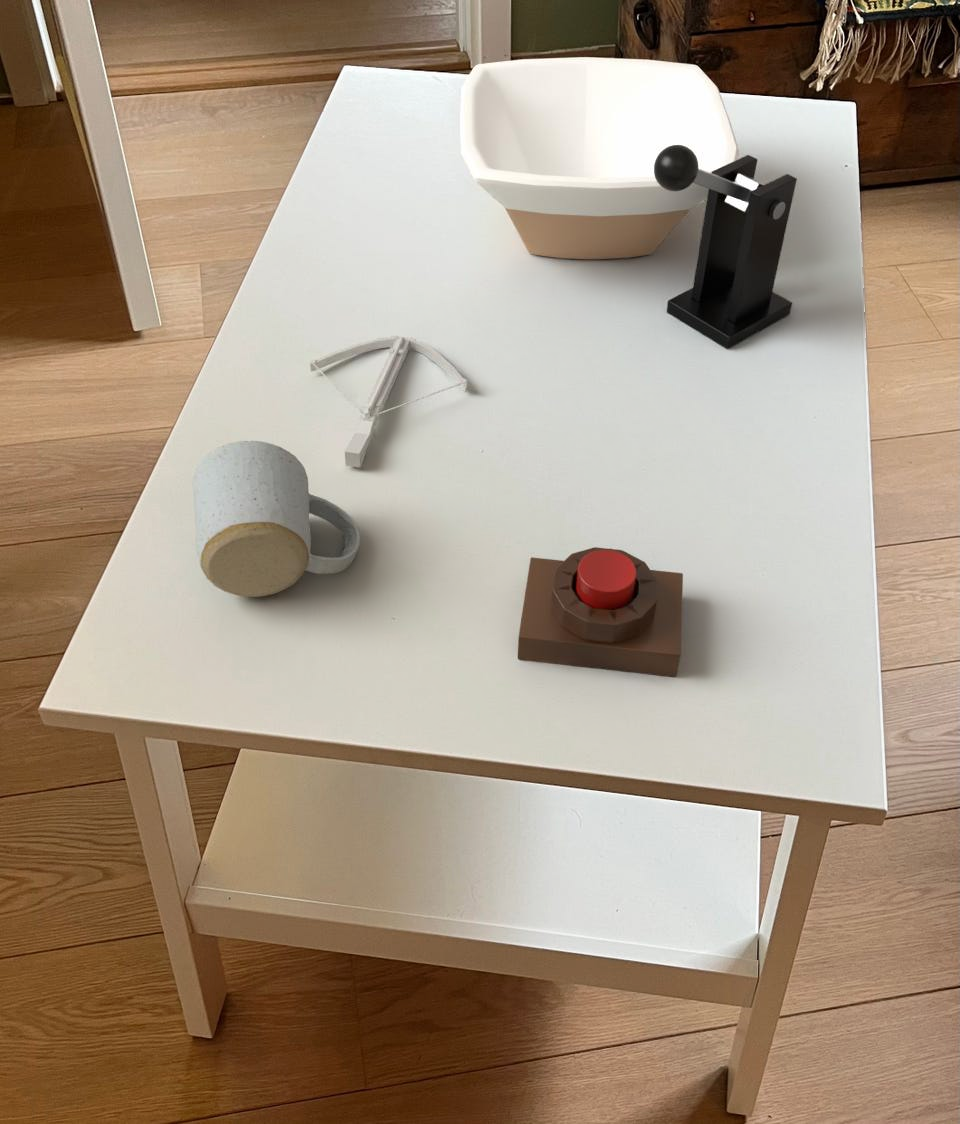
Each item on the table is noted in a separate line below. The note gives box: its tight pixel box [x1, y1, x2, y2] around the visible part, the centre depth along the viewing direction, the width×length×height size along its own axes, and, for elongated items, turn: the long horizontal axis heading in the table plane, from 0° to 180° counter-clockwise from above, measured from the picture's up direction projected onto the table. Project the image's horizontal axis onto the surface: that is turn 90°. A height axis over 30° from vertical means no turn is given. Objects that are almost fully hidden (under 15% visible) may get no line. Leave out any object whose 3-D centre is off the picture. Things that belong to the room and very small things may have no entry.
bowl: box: [459, 56, 740, 260], centre depth 108 cm, size 24×25×11 cm
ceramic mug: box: [192, 440, 361, 598], centre depth 78 cm, size 11×8×8 cm
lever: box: [654, 145, 766, 213], centre depth 89 cm, size 14×3×3 cm, turn 130°
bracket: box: [666, 154, 798, 350], centre depth 97 cm, size 8×7×13 cm
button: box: [576, 550, 636, 610], centre depth 74 cm, size 4×4×2 cm
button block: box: [517, 546, 684, 678], centre depth 75 cm, size 10×7×4 cm
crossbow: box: [309, 335, 468, 469], centre depth 92 cm, size 16×13×2 cm
